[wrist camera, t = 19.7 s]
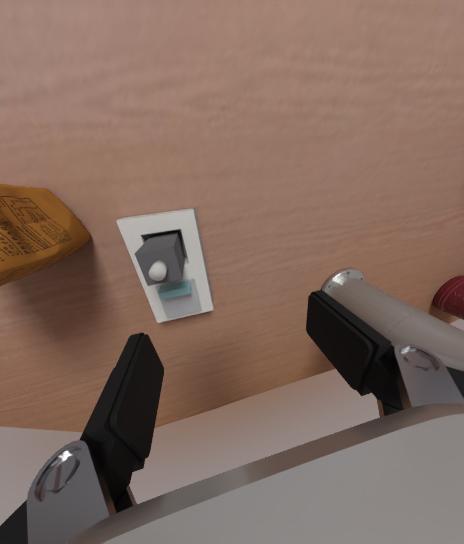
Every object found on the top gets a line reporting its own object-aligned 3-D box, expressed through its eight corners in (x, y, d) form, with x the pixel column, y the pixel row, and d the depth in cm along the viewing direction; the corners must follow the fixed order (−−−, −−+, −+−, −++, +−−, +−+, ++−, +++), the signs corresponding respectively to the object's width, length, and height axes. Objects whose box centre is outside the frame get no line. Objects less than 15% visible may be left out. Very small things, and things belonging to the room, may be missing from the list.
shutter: (201, 308, 33) (202, 318, 31) (167, 316, 32) (165, 327, 30) (194, 277, 30) (194, 286, 27) (156, 285, 29) (152, 294, 26)
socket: (212, 300, 37) (214, 309, 34) (159, 312, 36) (156, 323, 33) (194, 207, 29) (195, 209, 26) (122, 217, 27) (113, 220, 24)
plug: (184, 254, 31) (182, 286, 21) (159, 259, 31) (143, 294, 20) (178, 230, 29) (171, 251, 19) (151, 234, 29) (128, 259, 18)
